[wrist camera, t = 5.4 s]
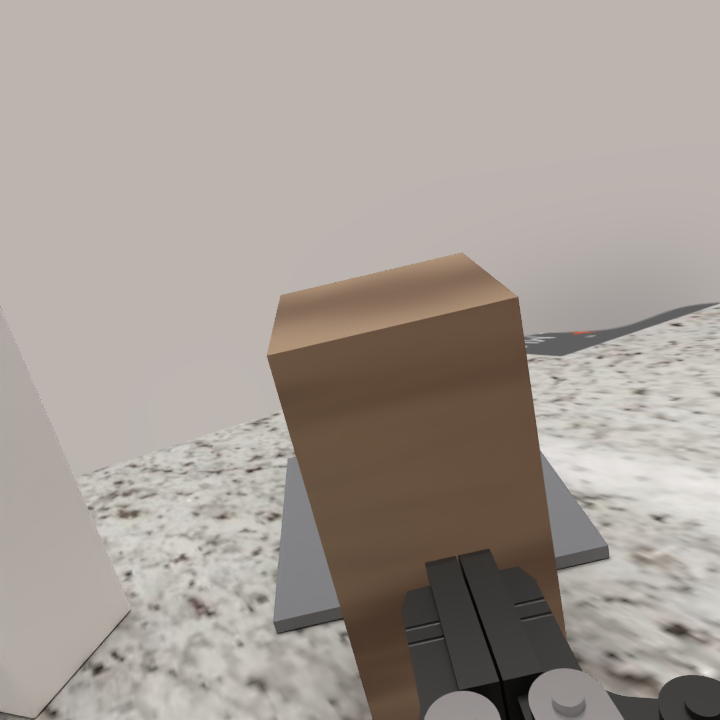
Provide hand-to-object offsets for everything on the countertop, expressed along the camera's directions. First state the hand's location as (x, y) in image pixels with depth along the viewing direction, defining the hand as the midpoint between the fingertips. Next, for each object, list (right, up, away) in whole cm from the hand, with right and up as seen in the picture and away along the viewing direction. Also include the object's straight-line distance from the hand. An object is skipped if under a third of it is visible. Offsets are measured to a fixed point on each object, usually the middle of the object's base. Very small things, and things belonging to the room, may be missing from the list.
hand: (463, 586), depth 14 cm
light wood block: (+1, -6, +8) cm, 10 cm away
